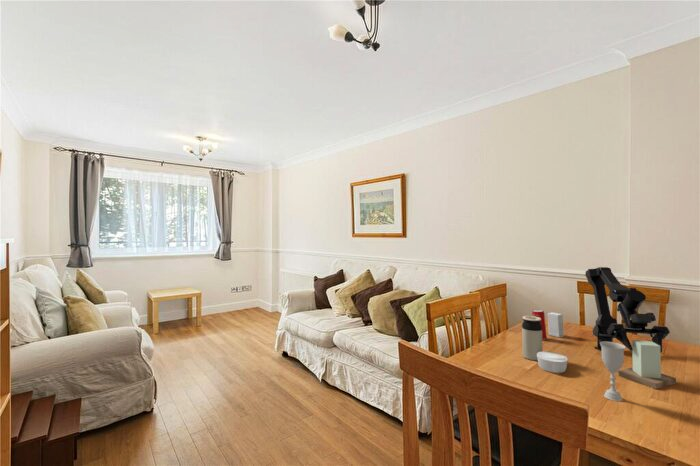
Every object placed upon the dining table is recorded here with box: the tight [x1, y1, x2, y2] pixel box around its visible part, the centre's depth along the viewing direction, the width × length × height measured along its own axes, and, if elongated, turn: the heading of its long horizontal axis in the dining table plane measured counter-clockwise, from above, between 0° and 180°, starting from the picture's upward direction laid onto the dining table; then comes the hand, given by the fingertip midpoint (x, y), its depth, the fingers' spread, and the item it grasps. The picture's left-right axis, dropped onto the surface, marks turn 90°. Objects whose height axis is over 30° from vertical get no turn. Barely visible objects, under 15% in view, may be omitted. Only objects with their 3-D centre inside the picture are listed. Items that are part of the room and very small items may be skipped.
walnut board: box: [618, 366, 677, 390], centre depth 126 cm, size 12×12×2 cm
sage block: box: [631, 339, 662, 378], centre depth 126 cm, size 6×6×12 cm
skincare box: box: [547, 312, 565, 338], centre depth 180 cm, size 6×4×12 cm
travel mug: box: [521, 315, 544, 361], centre depth 150 cm, size 8×8×18 cm
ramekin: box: [537, 351, 569, 374], centre depth 138 cm, size 11×11×5 cm
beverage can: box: [531, 309, 548, 341], centre depth 176 cm, size 6×6×15 cm
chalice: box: [600, 341, 627, 402], centre depth 113 cm, size 7×7×18 cm
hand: (646, 351), depth 126 cm, fingers open, 9 cm apart
